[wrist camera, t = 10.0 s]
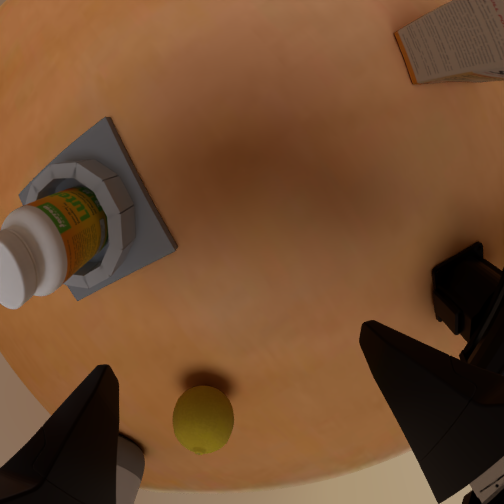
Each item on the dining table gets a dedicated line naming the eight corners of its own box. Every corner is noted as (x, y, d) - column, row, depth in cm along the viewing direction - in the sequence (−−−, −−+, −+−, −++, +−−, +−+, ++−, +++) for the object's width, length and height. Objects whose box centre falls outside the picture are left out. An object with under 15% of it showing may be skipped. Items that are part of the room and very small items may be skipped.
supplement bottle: (121, 197, 18) (34, 246, 9) (107, 262, 20) (37, 337, 11) (64, 176, 17) (-30, 209, 8) (55, 239, 19) (-24, 295, 10)
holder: (110, 117, 17) (88, 115, 14) (177, 247, 20) (166, 265, 17) (23, 192, 18) (0, 201, 15) (81, 296, 22) (64, 315, 19)
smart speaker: (100, 447, 33) (78, 511, 20) (83, 418, 30) (52, 492, 17) (152, 461, 34) (138, 531, 21) (142, 435, 30) (120, 519, 17)
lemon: (170, 376, 26) (152, 441, 18) (217, 362, 25) (209, 434, 17) (199, 407, 27) (190, 468, 20) (244, 396, 27) (244, 461, 19)
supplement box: (411, 88, 16) (549, 68, 4) (391, 32, 14) (506, -29, 2) (477, 85, 15) (591, 84, 3) (460, 36, 13) (566, 12, 1)
